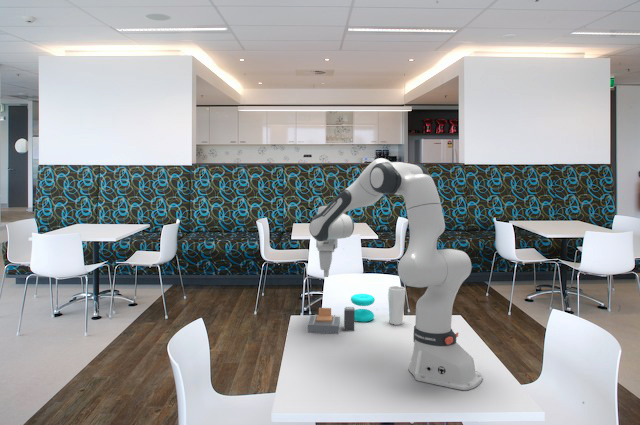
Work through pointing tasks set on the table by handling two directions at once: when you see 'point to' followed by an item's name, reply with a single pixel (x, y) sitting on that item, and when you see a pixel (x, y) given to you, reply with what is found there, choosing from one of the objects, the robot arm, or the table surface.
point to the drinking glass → (396, 304)
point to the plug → (349, 318)
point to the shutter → (324, 315)
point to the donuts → (363, 300)
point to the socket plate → (323, 325)
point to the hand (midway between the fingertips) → (326, 276)
